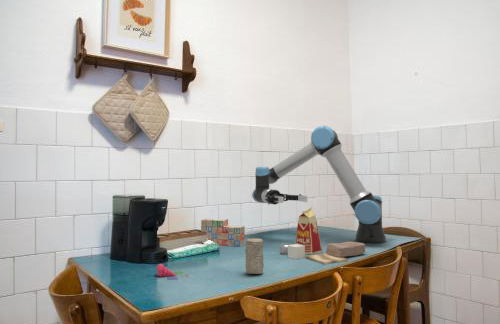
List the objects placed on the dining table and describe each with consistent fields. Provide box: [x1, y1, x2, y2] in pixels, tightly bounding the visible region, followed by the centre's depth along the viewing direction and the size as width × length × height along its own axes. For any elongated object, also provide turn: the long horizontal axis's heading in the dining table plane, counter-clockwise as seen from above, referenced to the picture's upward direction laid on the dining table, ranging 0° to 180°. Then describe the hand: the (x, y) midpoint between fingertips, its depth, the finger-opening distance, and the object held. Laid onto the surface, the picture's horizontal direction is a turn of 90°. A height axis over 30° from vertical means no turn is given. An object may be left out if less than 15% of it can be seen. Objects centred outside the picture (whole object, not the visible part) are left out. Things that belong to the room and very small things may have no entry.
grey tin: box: [279, 243, 292, 256], centre depth 165 cm, size 5×5×4 cm
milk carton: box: [295, 206, 323, 255], centre depth 168 cm, size 9×9×20 cm
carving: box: [244, 237, 265, 275], centre depth 132 cm, size 6×8×12 cm
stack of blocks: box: [200, 218, 246, 248], centre depth 187 cm, size 21×6×12 cm, turn 68°
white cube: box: [287, 243, 306, 260], centre depth 157 cm, size 5×5×5 cm
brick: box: [325, 241, 366, 258], centre depth 161 cm, size 17×8×5 cm, turn 126°
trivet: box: [304, 252, 349, 265], centre depth 153 cm, size 12×12×1 cm
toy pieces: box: [155, 263, 189, 281], centre depth 130 cm, size 12×11×4 cm
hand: (295, 199), depth 177 cm, fingers open, 13 cm apart
